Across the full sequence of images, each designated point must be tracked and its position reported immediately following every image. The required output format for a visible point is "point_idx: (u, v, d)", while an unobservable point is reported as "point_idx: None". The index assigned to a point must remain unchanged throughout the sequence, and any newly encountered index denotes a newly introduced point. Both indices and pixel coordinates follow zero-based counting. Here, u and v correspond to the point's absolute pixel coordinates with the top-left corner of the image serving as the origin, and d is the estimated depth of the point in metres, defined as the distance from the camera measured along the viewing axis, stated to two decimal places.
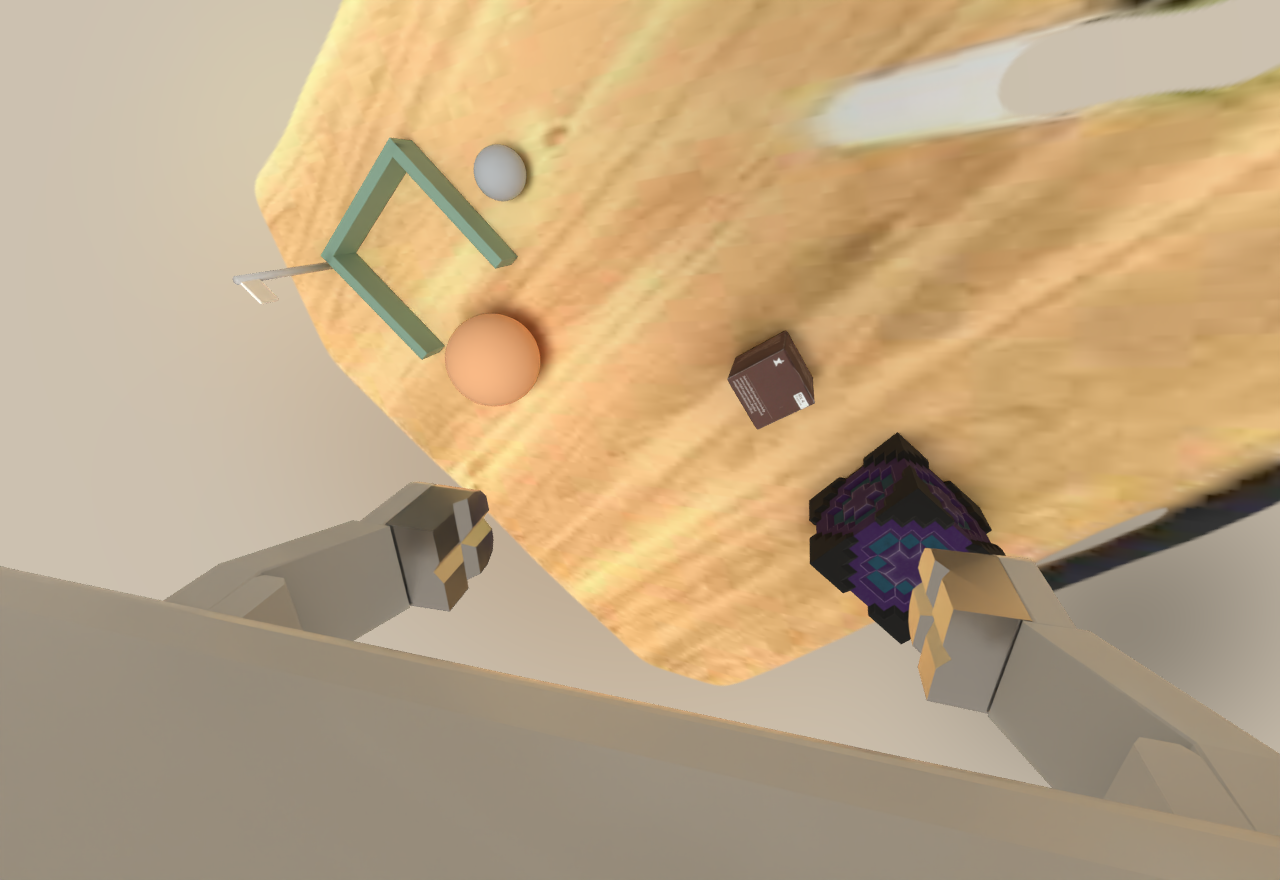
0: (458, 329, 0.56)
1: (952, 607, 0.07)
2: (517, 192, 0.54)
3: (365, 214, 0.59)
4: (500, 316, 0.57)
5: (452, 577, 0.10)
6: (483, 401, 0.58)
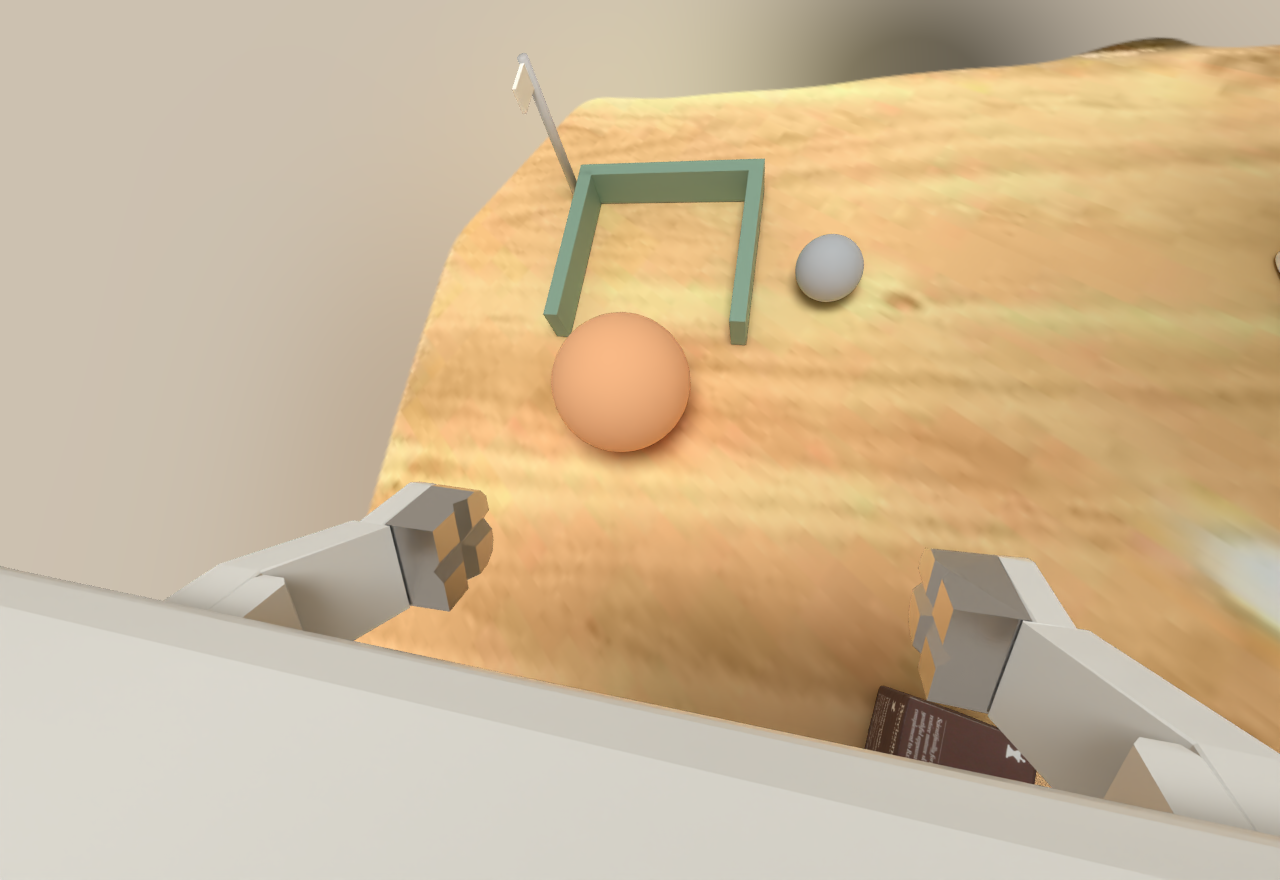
0: (637, 314, 0.39)
1: (952, 607, 0.07)
2: (828, 294, 0.41)
3: (660, 182, 0.49)
4: None
5: (452, 577, 0.10)
6: (570, 394, 0.36)
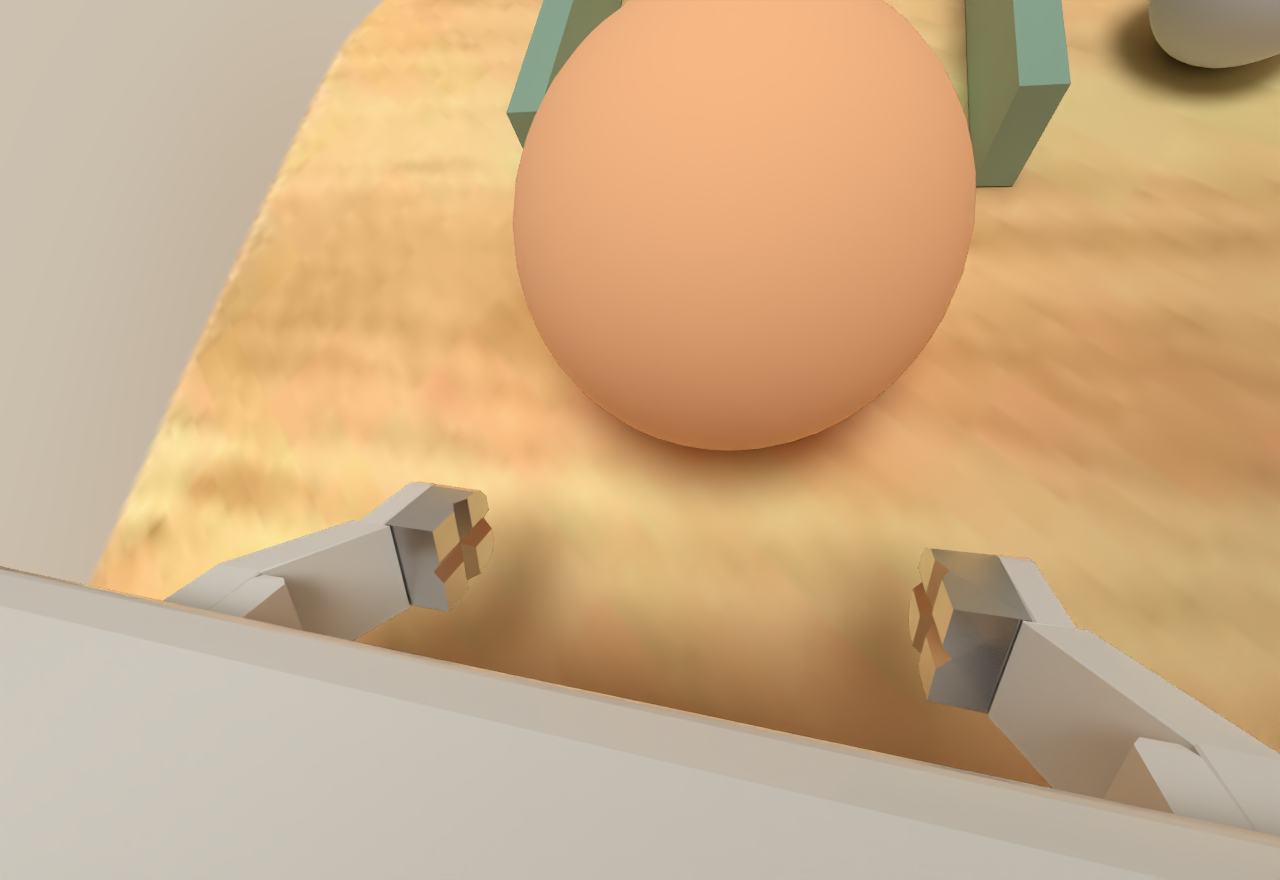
0: None
1: (952, 607, 0.07)
2: None
3: None
4: None
5: (452, 577, 0.10)
6: (574, 228, 0.09)
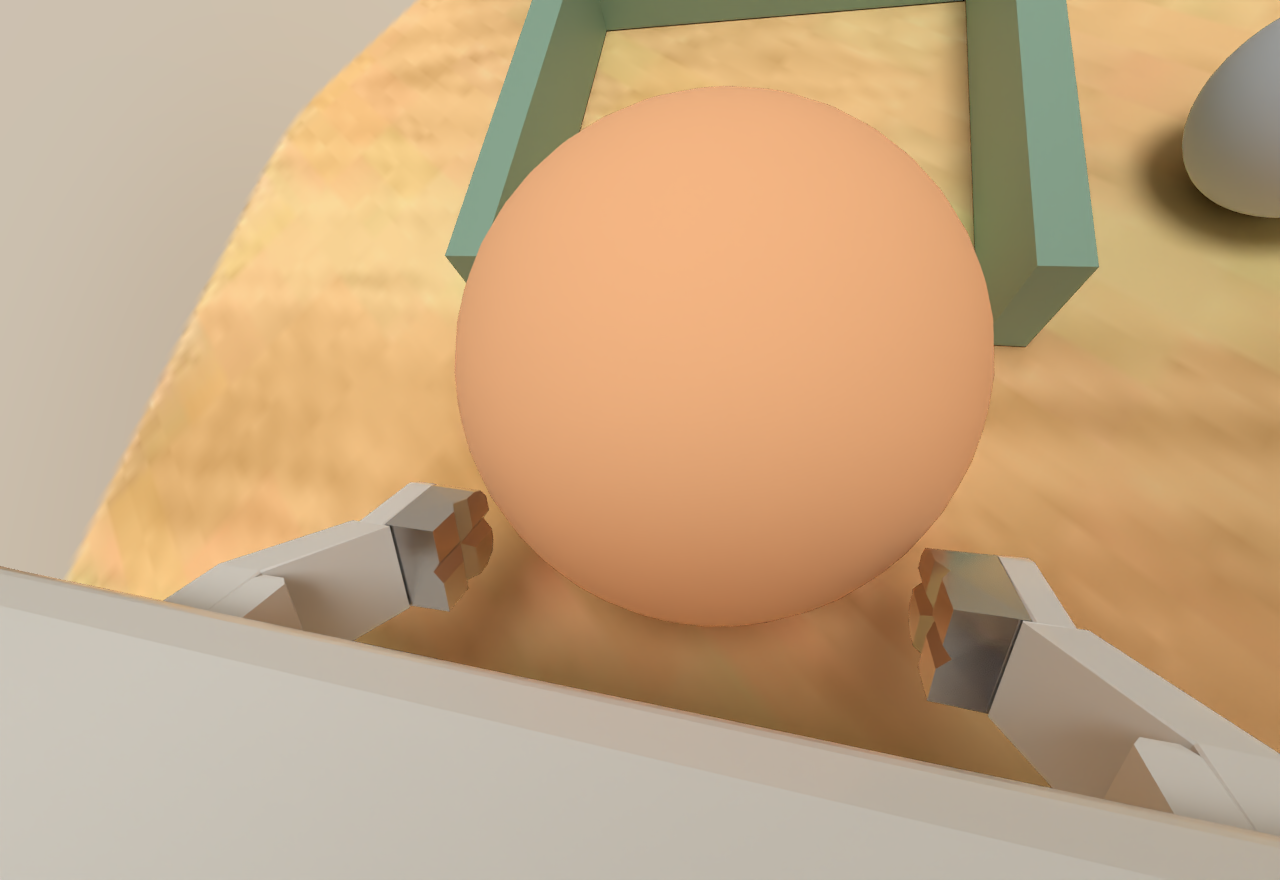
0: None
1: (952, 607, 0.07)
2: None
3: None
4: None
5: (452, 577, 0.10)
6: (526, 261, 0.07)
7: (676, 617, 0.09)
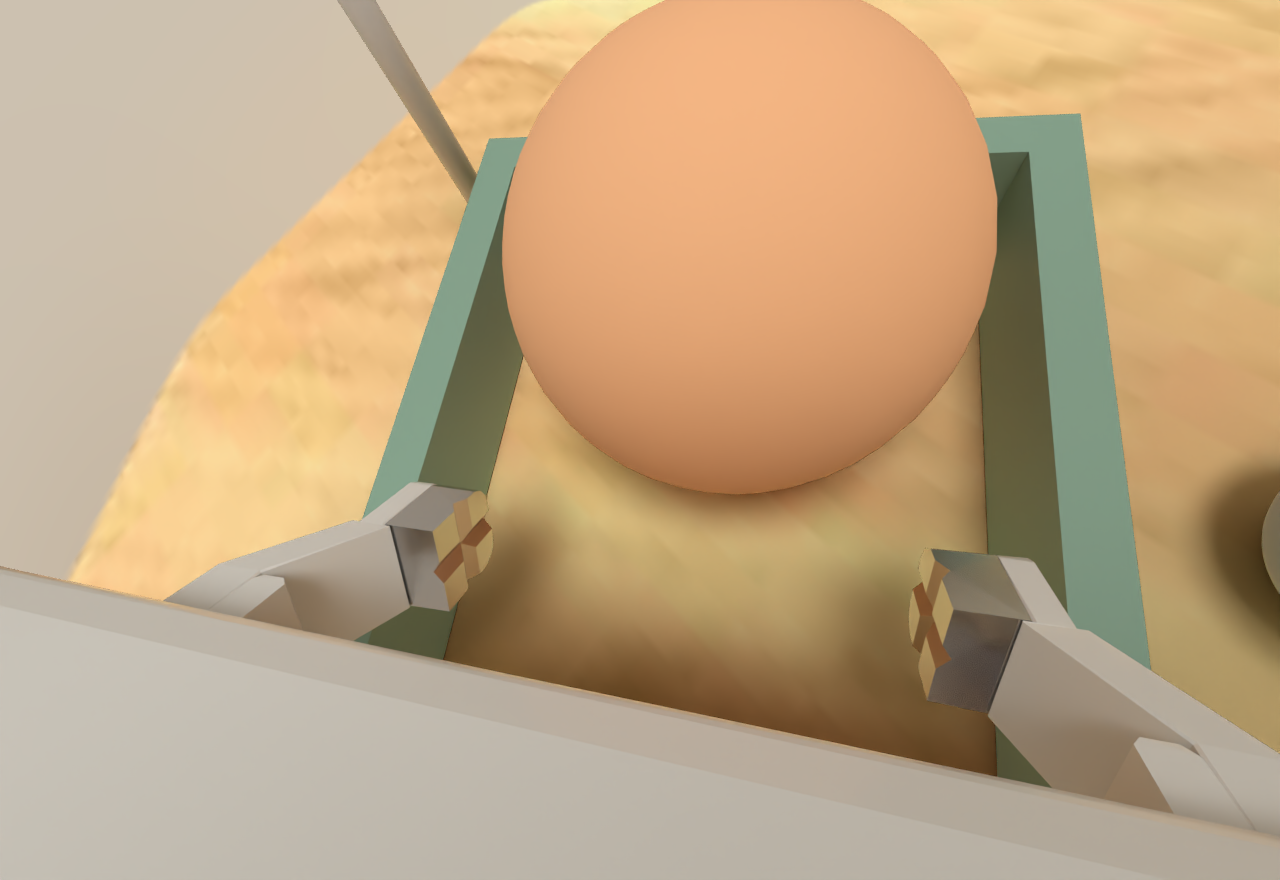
0: None
1: (952, 607, 0.07)
2: None
3: None
4: (947, 375, 0.10)
5: (452, 577, 0.10)
6: None
7: None
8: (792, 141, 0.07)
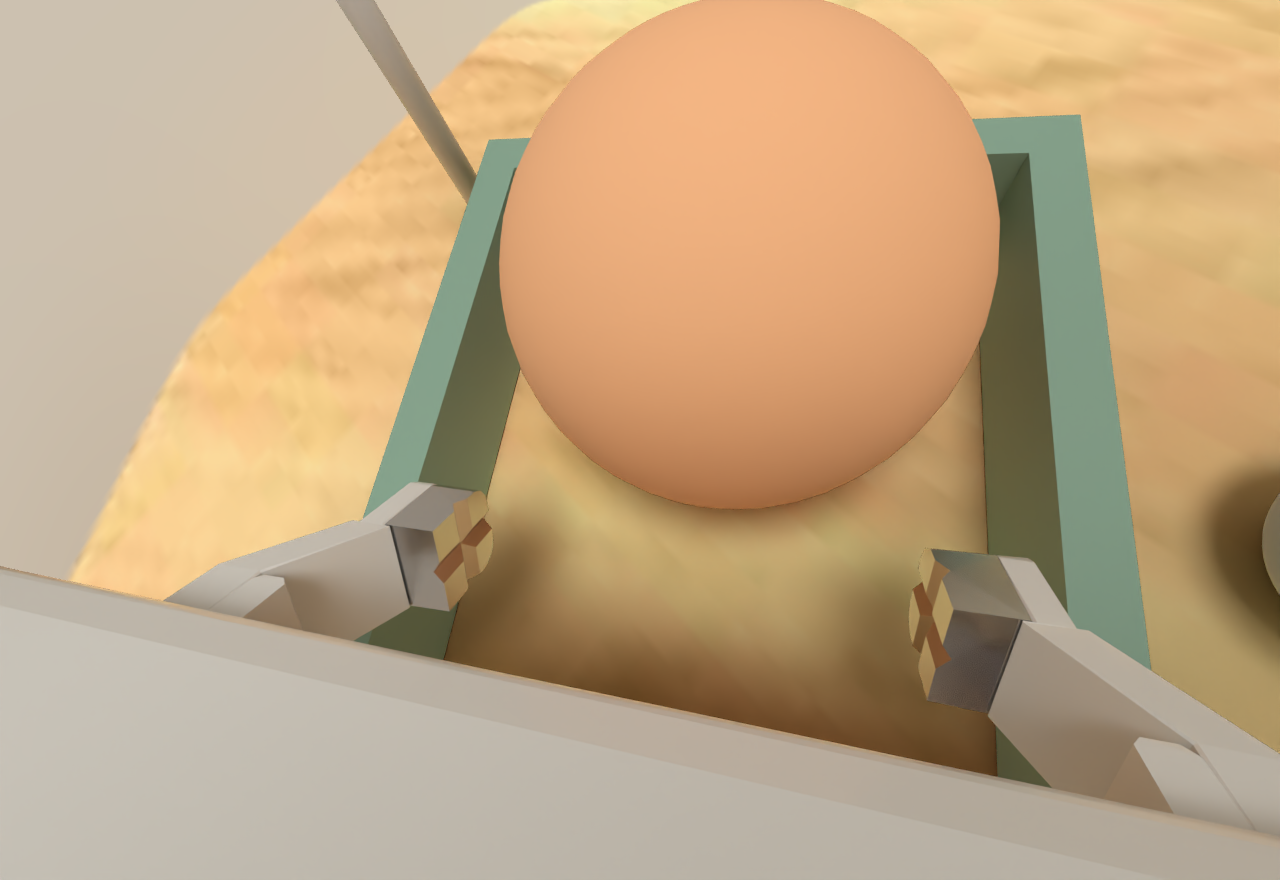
0: None
1: (952, 607, 0.07)
2: None
3: None
4: (946, 397, 0.10)
5: (452, 577, 0.10)
6: None
7: None
8: (792, 183, 0.07)
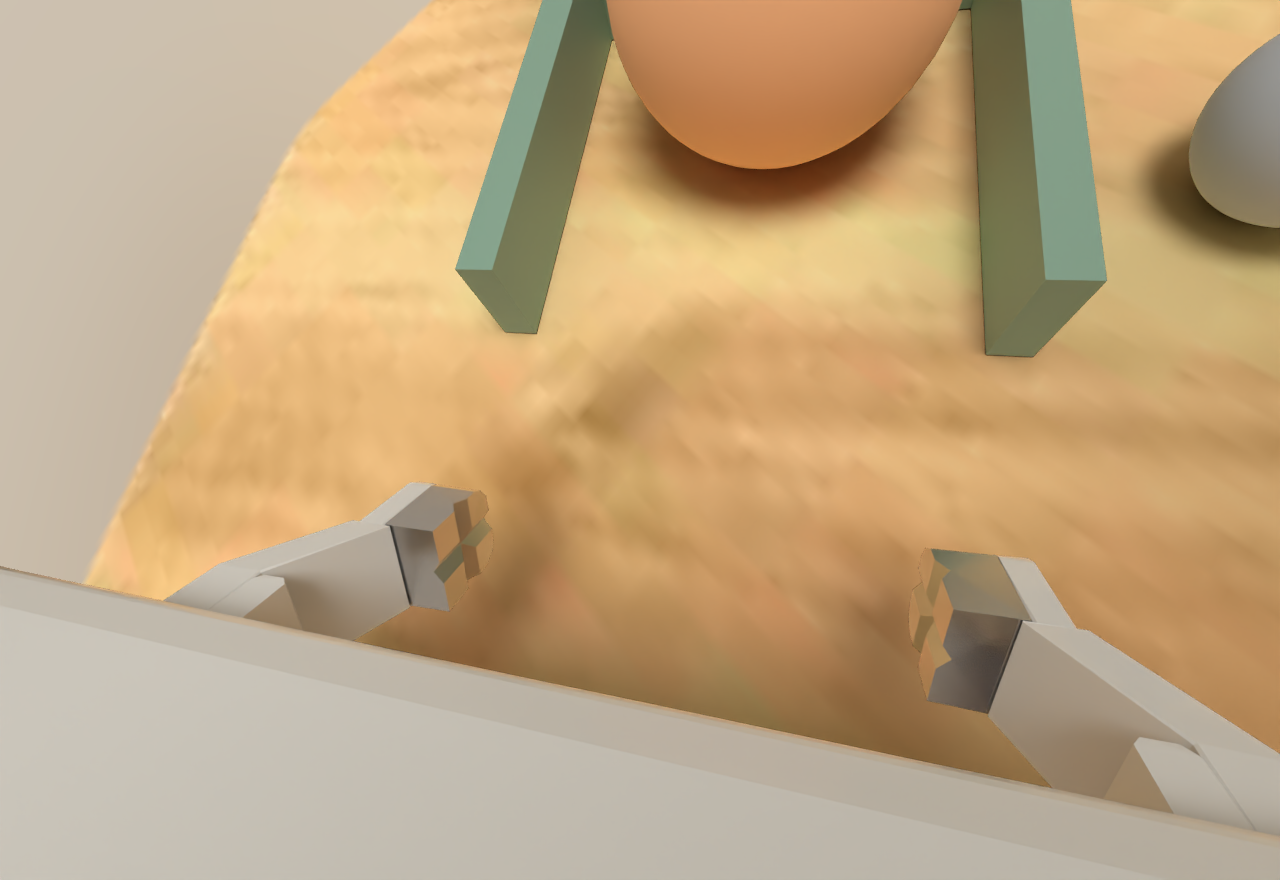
0: (794, 156, 0.16)
1: (952, 607, 0.07)
2: None
3: None
4: (944, 18, 0.14)
5: (452, 577, 0.10)
6: None
7: None
8: None
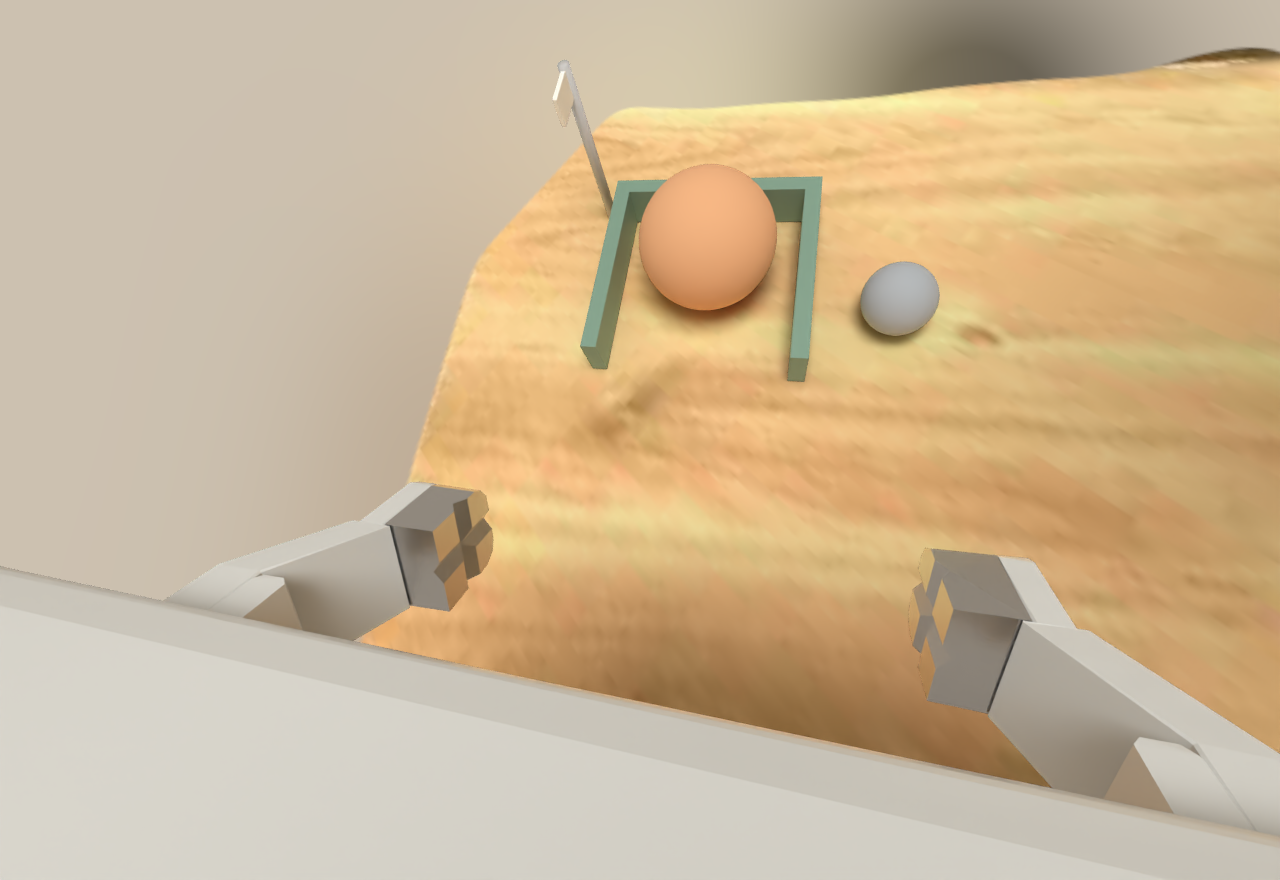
0: None
1: (952, 607, 0.07)
2: (900, 328, 0.37)
3: None
4: (761, 273, 0.38)
5: (452, 577, 0.10)
6: None
7: None
8: (715, 229, 0.35)
